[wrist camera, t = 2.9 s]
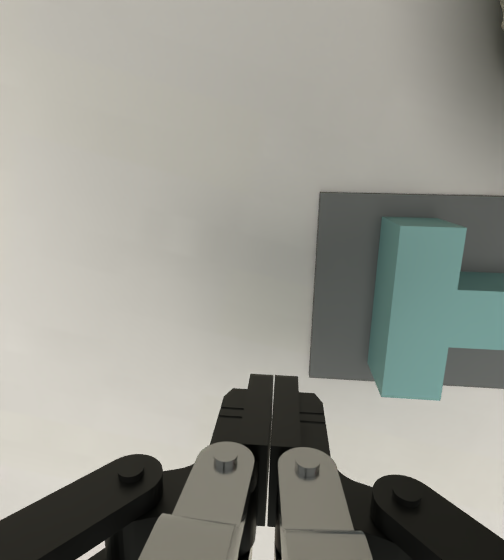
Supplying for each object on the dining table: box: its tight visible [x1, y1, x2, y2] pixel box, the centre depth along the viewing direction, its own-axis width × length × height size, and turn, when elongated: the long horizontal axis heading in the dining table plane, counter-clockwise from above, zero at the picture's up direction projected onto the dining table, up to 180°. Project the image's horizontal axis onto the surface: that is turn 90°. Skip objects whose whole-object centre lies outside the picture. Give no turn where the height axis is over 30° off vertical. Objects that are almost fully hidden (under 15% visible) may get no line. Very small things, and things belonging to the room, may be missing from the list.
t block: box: [367, 217, 504, 401], centre depth 22 cm, size 9×9×4 cm
